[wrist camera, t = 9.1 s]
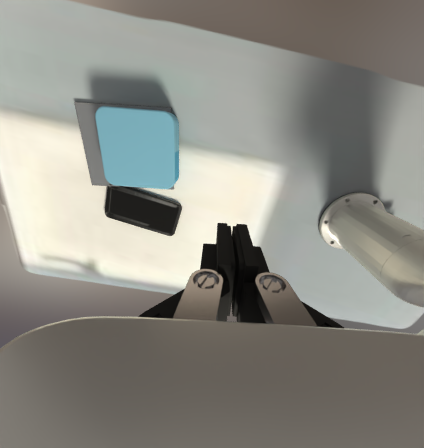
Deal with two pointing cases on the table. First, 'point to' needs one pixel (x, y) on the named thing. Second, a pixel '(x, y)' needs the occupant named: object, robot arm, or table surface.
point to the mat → (92, 140)
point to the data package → (138, 146)
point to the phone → (142, 209)
